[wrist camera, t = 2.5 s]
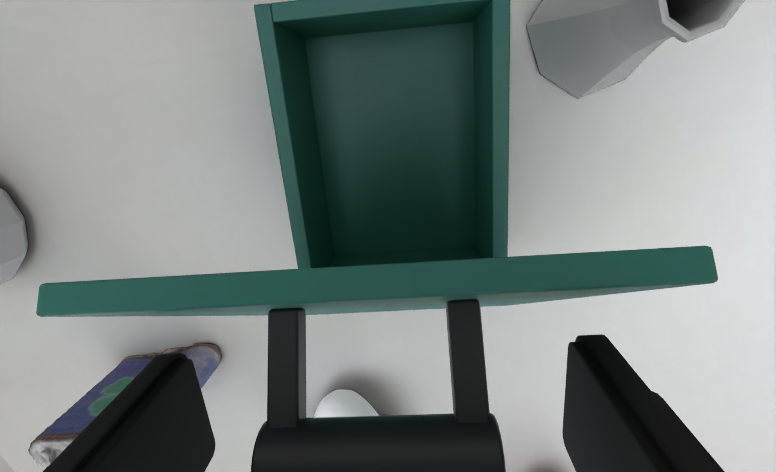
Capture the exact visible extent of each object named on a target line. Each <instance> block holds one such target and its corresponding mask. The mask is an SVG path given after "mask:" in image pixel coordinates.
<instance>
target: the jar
mask: <svg viewBox="0 0 776 472" xmlns="http://www.w3.org/2000/svg"><path fill="white" fill-rule="evenodd" d="M27 248H28V239H27V232H26V225H25V218H24V217H23V215H22V214H21V212H20V211H19V209H18V208H17V206H16V205H15V203H14V202H13V200H12V199H11V197H10V196H9V194H8V193H7V192H6V191H4V190H3V189H1V188H0V284H1V283H3V282H6V281H8V280H10V279H12V278H14V276H15V274H16V272H17V270H18V268H19V267H20V265H21V263H22V261H23V259H24V257H25V255H26V252H27Z"/></svg>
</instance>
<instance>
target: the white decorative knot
mask: <svg viewBox="0 0 776 472" xmlns="http://www.w3.org/2000/svg"><path fill="white" fill-rule="evenodd" d="M355 416H379V415H378V414H377V412H376V411H375V410H374V408H373V407H372V406H371V405H370V404H369V403H368V402H367V401H366V400H365V399H364V398H363V397H362V396H360V395H359V394H358V393H356V392H354V391H352V390H340V389H337V390H335V391H333V392H331V393H329V394H328V395H326V396H325V397H324V398H323V399H322V400H321V402H320V404H319V406H318V408H317V410H316V413H315V416H314V418H319V417H355Z"/></svg>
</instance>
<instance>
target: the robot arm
mask: <svg viewBox="0 0 776 472" xmlns="http://www.w3.org/2000/svg"><path fill="white" fill-rule="evenodd" d="M563 439H564V444H565V447H566V450H567V452H568V454H569V456H570V459H571V461H572V463H573V465H574V468H575V470H576V472H724V471H723V470H722V468H721V467H720V466H719V465H718V464H717V462H716V461H715V460H714V459H713V458H712V456H711V455H710V454H709V453H708V452H707V451H706V449H705V448H704V447H703V446H702V445H701V443H700V442H699V441H698V440H697V439H696V437H695V436H694V435H693V434H692V433H691V431H690V430H689V429H688V428H687V427H686V426H685V424H684V423H683V422H682V421H681V420H680V418H679V417H678V416H677V415H676V414H675V412H674V411H673V410H672V409H671V408H670V407H669V405H668V404H667V403H666V402H665V401H664V399H663V398H662V397H661V396H659V395H658V394H657V393H655V392H652V391H651V390H650V389H649V388H648V387H647V386H646V384H645V383H644V382H643V381H642V379H641V378H640V377H639V376H638V375H637V373H636V372H635V371H634V370H633V369H632V367H631V366H630V365H629V364H628V362H627V361H626V360H625V359H624V358H623V356H622V355H621V354H620V353H619V352H618V350H617V349H616V348H615V347H614V345H613V344H612V343H611V342H610V341H609V339H608V338H607V337H606V336H605V335H582V336H578V337H577V338H576V341H575V342H570V343H569V346H568V357H567V373H566V388H565V403H564V418H563ZM214 451H215V439H214V436H213V432H212V428H211V425H210V421H209V417H208V414H207V410H206V407H205V403H204V399H203V396H202V392H201V389H200V385H199V381H198V378H197V374H196V371H195V367H194V364H193V361H192V360H191V359H187V356H186V355H185V354H183V353H171V354H159V355H157V356H156V357H155V358H154V359H153V360H152V361H151V362H150V363H149V364H148V365H147V366H146V367H145V368H144V369H143V370H142V371H141V372H140V373H139V374H138V375H137V376H136V377H135V378H134V379H133V380H132V381H131V382H130V383H129V384H128V385H127V386H126V387H125V388H124V389H123V390H122V391H121V392H120V393H119V394H118V395H117V396H116V397H115V398H114V399H113V401H112V402H111V403H110V404H109V405H108V406H107V407H106V408H105V409H104V410H103V411H102V412H101V413H100V414H99V415H98V416H97V417H96V418H95V419H94V420H93V421H92V422H91V423H90V424H89V425H88V426H87V427H86V428H85V429H84V430H83V431H82V432H81V433H80V434H79V435H78V436H77V437H76V438H75V439H74V440H73V441H72V442H71V443H70V444H69V445H68V446H67V447H66V448H65V449H64V450H63V452H62V453H61V454H60V455H59V456H58V457H57V458H56V459H55V460H54V461H53V462H52V463H51V464H50V465H49V466H48V467H47V468H46V469H45V470H44V471H43V472H205V470H206V468H207V466H208V464H209V462H210V461H211V459H212V457H213V454H214Z"/></svg>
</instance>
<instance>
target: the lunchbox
mask: <svg viewBox="0 0 776 472" xmlns="http://www.w3.org/2000/svg"><path fill="white" fill-rule="evenodd" d="M254 11H255V17H256V22H257V28H258V34H259V40H260V46H261V52H262V58H263V64H264V70H265V76H266V82H267V88H268V93H269V99H270V105H271V111H272V117H273V123H274V129H275V135H276V141H277V147H278V153H279V159H280V165H281V170H282V176H283V182H284V188H285V194H286V200H287V206H288V212H289V218H290V224H291V230H292V236H293V241H294V247H295V253H296V259H297V265H298V269H306V268H324V267H342V266H359V265H377V264H394V263H412V262H429V261H447V260H465V259H482V258H500V257H507V246H508V159H509V71H510V0H295V1H286V2H277V3H271V4H269V3H268V4H259V5H254Z"/></svg>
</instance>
